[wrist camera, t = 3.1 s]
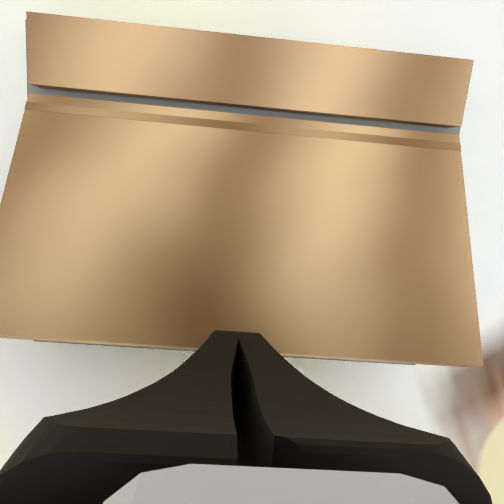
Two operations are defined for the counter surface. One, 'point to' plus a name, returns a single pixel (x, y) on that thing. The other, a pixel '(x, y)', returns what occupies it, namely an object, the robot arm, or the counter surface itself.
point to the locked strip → (245, 71)
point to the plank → (236, 233)
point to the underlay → (144, 101)
